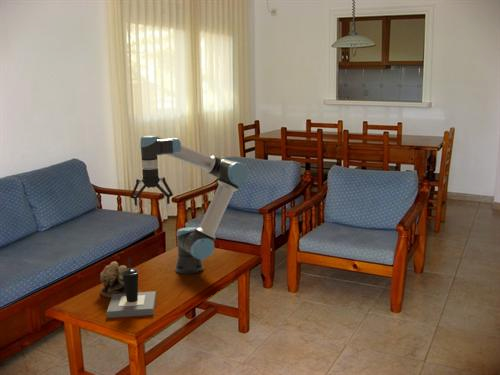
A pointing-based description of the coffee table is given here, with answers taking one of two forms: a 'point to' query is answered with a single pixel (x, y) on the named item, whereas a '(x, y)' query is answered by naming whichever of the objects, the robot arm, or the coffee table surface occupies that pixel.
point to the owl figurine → (112, 280)
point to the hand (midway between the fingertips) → (152, 211)
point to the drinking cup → (130, 283)
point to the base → (132, 305)
